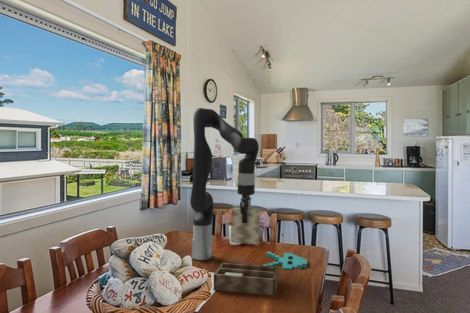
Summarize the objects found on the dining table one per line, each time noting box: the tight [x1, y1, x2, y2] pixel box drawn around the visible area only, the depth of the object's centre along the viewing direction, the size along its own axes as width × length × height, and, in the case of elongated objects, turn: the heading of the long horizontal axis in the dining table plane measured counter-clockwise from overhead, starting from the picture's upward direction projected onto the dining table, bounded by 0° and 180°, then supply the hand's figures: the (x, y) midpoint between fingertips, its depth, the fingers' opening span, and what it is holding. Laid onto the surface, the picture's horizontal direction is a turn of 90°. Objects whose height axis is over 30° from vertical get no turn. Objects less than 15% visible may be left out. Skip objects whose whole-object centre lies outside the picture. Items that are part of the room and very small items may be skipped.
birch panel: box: [230, 206, 261, 245], centre depth 146 cm, size 12×3×15 cm, turn 77°
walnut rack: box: [213, 262, 279, 296], centre depth 133 cm, size 24×13×7 cm, turn 78°
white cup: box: [228, 224, 242, 246], centre depth 191 cm, size 8×8×10 cm
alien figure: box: [262, 251, 308, 271], centre depth 159 cm, size 20×2×20 cm
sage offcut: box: [224, 272, 243, 276], centre depth 131 cm, size 7×4×5 cm, turn 78°
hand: (245, 221), depth 145 cm, fingers closed on birch panel, 3 cm apart
